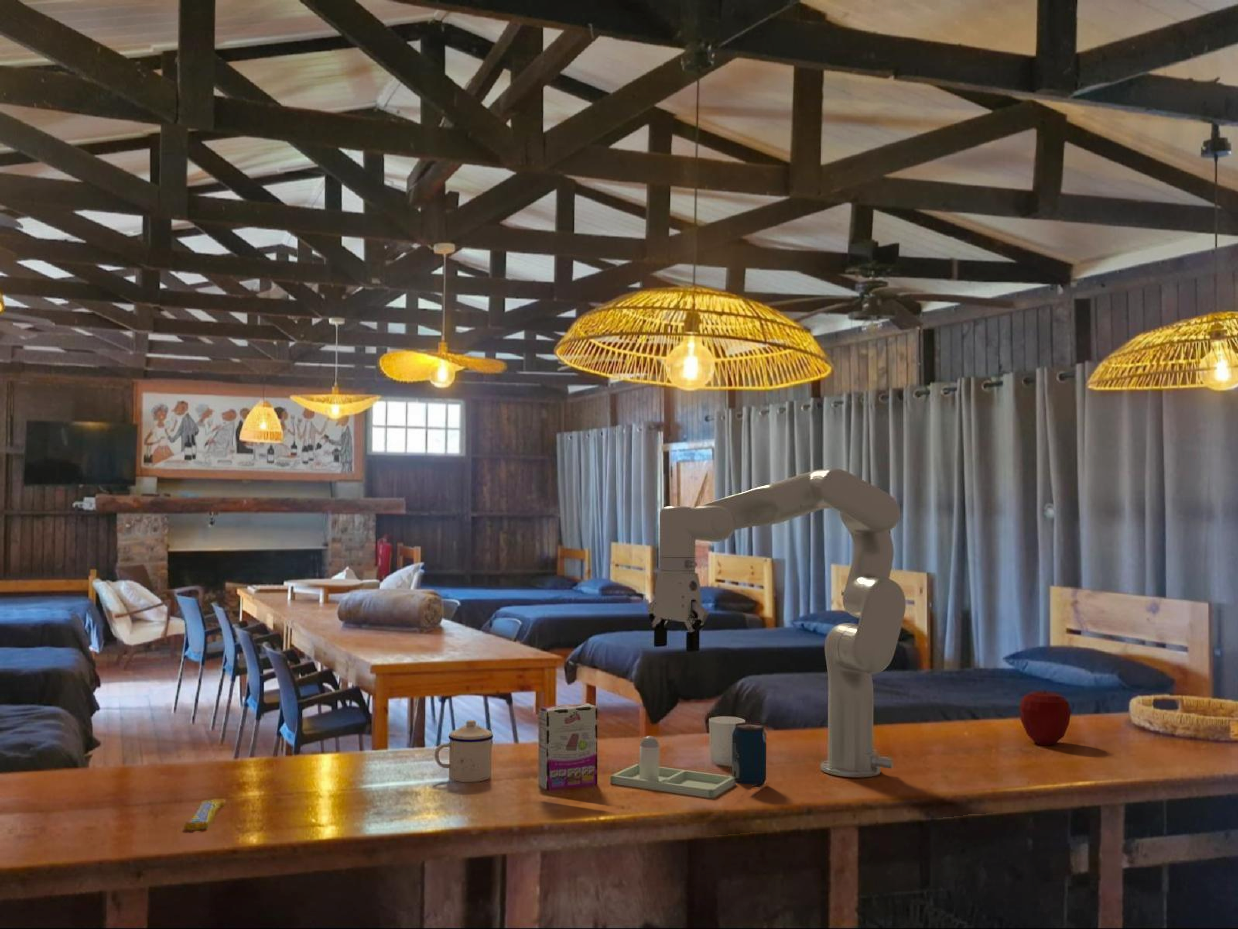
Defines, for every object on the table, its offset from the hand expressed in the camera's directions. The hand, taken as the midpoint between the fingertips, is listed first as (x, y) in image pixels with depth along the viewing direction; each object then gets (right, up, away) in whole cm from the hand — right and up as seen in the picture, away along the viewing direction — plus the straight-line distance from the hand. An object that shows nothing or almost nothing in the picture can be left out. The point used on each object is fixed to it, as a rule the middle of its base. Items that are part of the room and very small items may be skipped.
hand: (676, 648), depth 222 cm
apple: (+93, -30, +41) cm, 106 cm away
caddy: (-1, -27, -7) cm, 28 cm away
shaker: (-6, -26, -5) cm, 27 cm away
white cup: (+12, -28, +13) cm, 33 cm away
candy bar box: (-22, -27, -9) cm, 36 cm away
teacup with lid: (-44, -27, -1) cm, 51 cm away
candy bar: (-85, -25, -31) cm, 94 cm away
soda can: (+15, -27, -3) cm, 31 cm away
